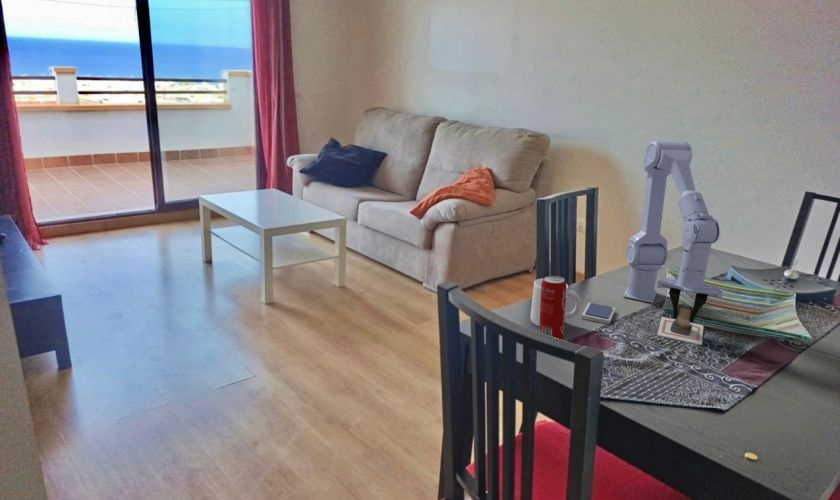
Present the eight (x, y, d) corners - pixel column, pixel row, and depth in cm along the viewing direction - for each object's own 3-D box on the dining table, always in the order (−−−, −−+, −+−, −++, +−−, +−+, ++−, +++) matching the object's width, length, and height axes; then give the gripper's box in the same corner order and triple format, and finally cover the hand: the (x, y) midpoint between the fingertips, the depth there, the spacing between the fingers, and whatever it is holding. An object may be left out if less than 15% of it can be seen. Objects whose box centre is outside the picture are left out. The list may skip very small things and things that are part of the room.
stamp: (673, 324, 154) (677, 301, 152) (691, 328, 151) (696, 306, 150) (670, 330, 150) (674, 307, 148) (689, 335, 148) (694, 311, 146)
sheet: (661, 317, 158) (661, 316, 158) (703, 326, 154) (703, 325, 154) (657, 335, 148) (657, 334, 148) (701, 345, 144) (702, 343, 144)
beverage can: (563, 345, 141) (571, 285, 136) (534, 341, 142) (541, 281, 137) (562, 334, 146) (570, 276, 142) (535, 330, 147) (542, 273, 143)
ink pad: (588, 306, 163) (588, 301, 163) (614, 311, 161) (615, 306, 160) (581, 318, 156) (582, 313, 155) (609, 324, 153) (610, 319, 152)
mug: (576, 318, 156) (581, 280, 152) (580, 332, 148) (586, 293, 145) (528, 314, 157) (533, 276, 153) (531, 327, 149) (535, 289, 146)
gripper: (659, 266, 145) (650, 318, 149) (726, 278, 139) (714, 332, 144) (662, 258, 151) (653, 308, 156) (726, 269, 146) (715, 321, 150)
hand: (683, 319), depth 150 cm, fingers closed on stamp, 3 cm apart
